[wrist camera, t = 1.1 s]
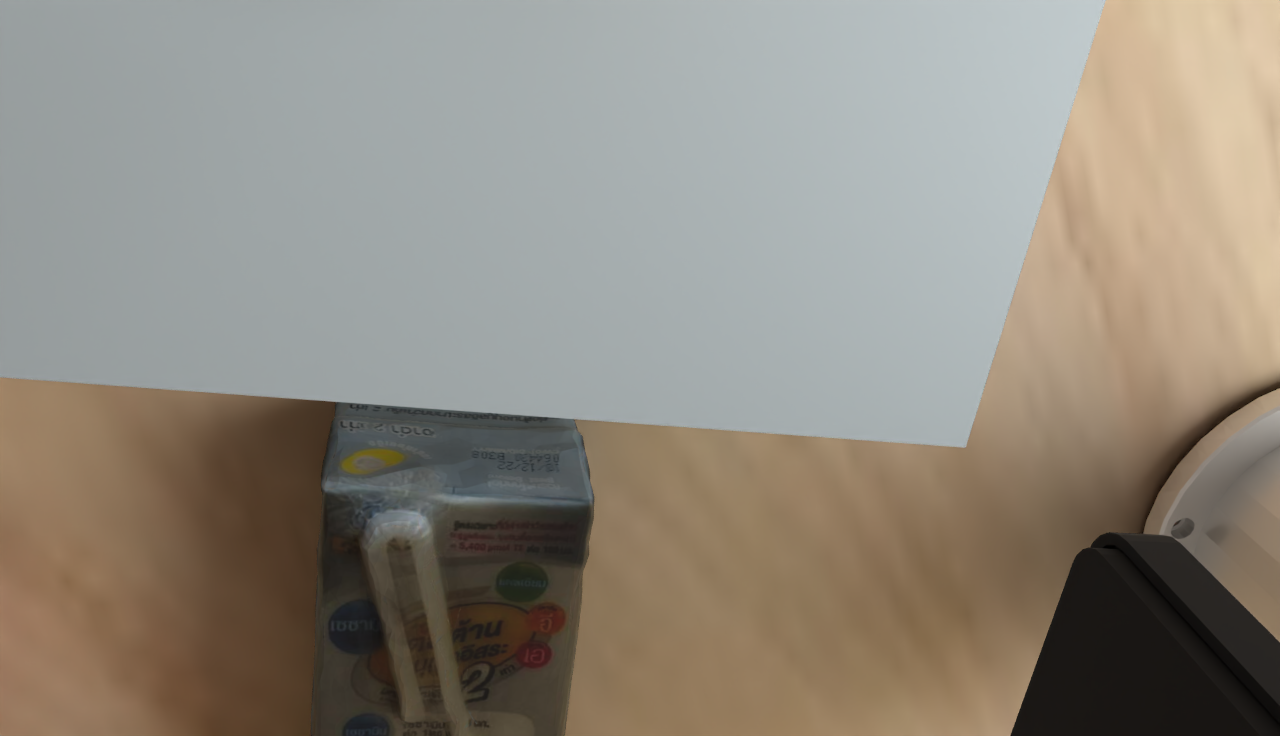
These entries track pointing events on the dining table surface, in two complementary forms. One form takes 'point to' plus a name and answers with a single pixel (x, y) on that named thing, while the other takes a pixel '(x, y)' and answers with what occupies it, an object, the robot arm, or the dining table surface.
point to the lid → (534, 202)
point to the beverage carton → (448, 572)
